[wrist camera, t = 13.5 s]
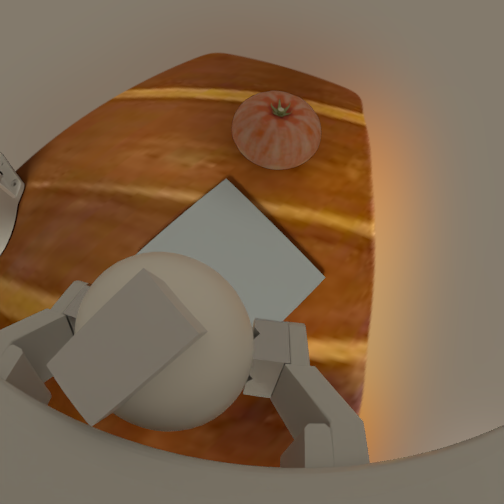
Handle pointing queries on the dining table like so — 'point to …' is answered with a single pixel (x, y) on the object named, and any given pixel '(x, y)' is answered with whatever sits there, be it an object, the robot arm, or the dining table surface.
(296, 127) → the tomato
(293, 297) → the grey pad
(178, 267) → the white rounded bottle
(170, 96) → the dining table surface
